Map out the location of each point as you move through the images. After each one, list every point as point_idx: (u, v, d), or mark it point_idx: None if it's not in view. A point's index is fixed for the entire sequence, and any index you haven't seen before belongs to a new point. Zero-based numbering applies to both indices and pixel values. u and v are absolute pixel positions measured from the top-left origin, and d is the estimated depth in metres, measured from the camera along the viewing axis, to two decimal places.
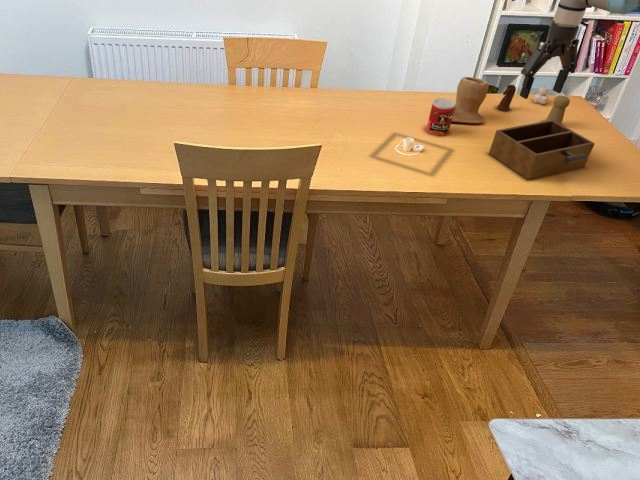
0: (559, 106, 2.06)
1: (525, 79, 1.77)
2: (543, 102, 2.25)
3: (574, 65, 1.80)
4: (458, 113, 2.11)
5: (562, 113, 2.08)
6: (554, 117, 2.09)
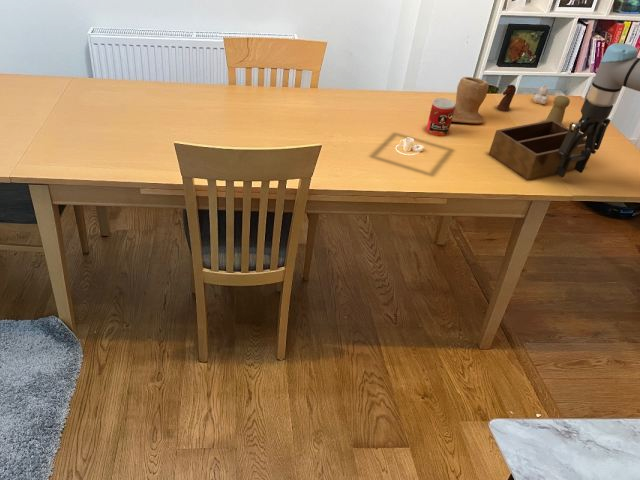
0: (559, 106, 2.06)
1: (562, 159, 1.76)
2: (543, 102, 2.25)
3: (597, 146, 1.77)
4: (458, 113, 2.11)
5: (562, 113, 2.08)
6: (554, 117, 2.09)
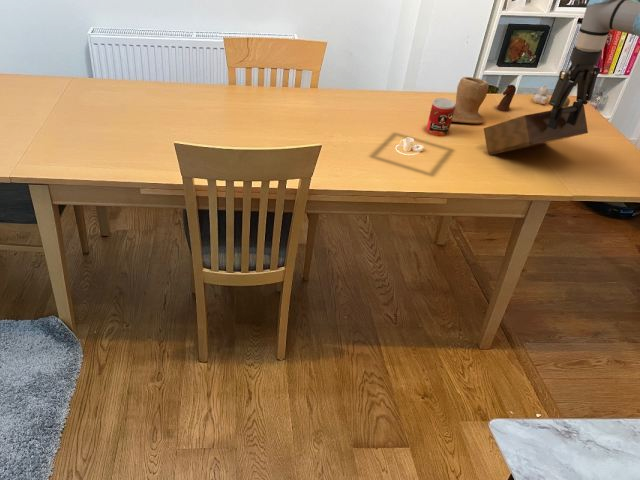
0: None
1: (553, 110, 1.75)
2: (543, 102, 2.25)
3: (589, 96, 1.76)
4: (458, 113, 2.11)
5: None
6: None
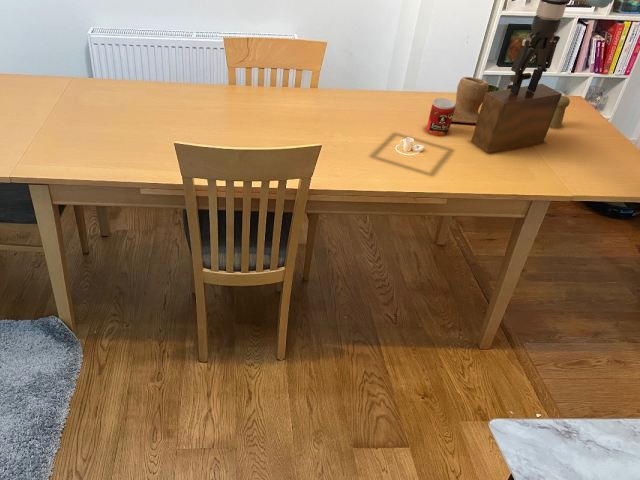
0: (559, 106, 2.06)
1: (515, 76, 1.85)
2: None
3: (548, 64, 1.85)
4: (458, 113, 2.11)
5: (562, 113, 2.08)
6: (554, 117, 2.09)
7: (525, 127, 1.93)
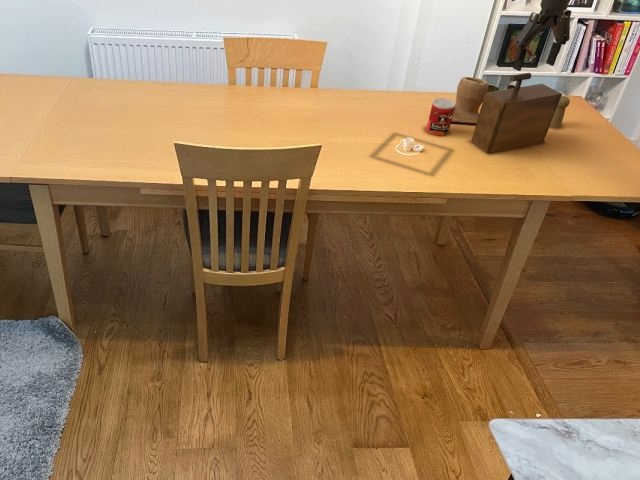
0: (559, 106, 2.06)
1: (518, 51, 1.78)
2: None
3: (567, 37, 1.81)
4: (458, 113, 2.11)
5: (562, 113, 2.08)
6: (554, 117, 2.09)
7: (525, 127, 1.93)
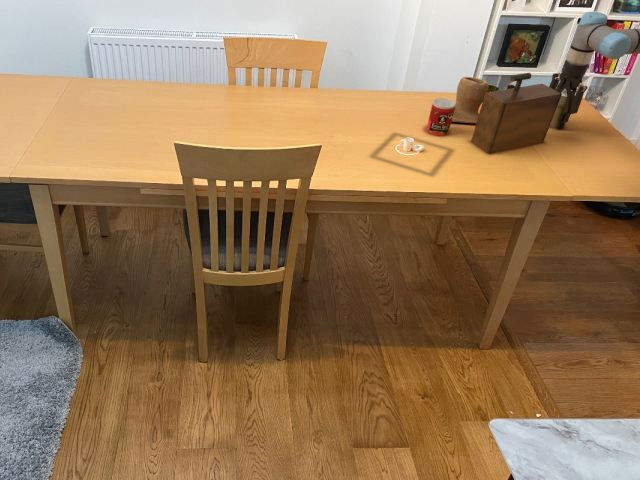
0: (559, 106, 2.06)
1: None
2: None
3: (571, 109, 2.03)
4: (458, 113, 2.11)
5: None
6: (554, 117, 2.09)
7: (525, 127, 1.93)
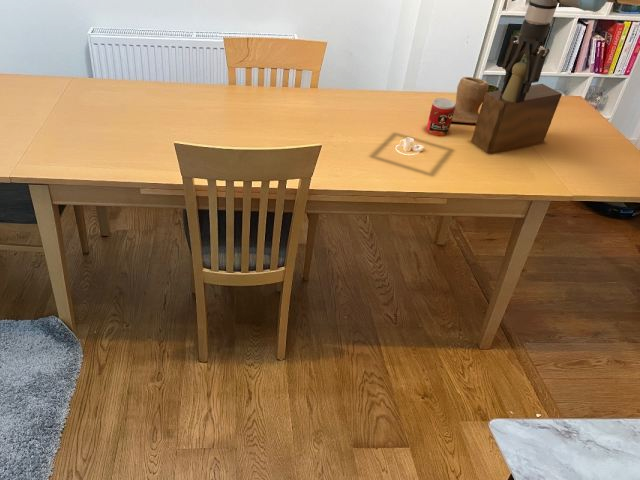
0: (518, 74, 1.79)
1: None
2: None
3: (531, 77, 1.76)
4: (458, 113, 2.11)
5: None
6: (514, 87, 1.82)
7: (525, 127, 1.93)
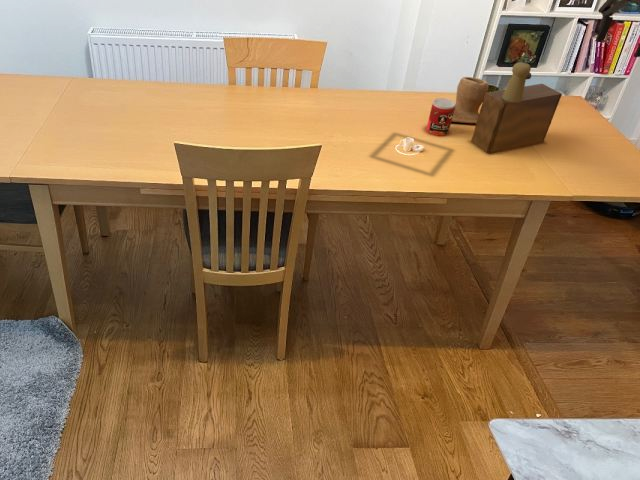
0: (518, 74, 1.79)
1: None
2: None
3: None
4: (458, 113, 2.11)
5: (522, 82, 1.81)
6: (514, 87, 1.82)
7: (525, 127, 1.93)
